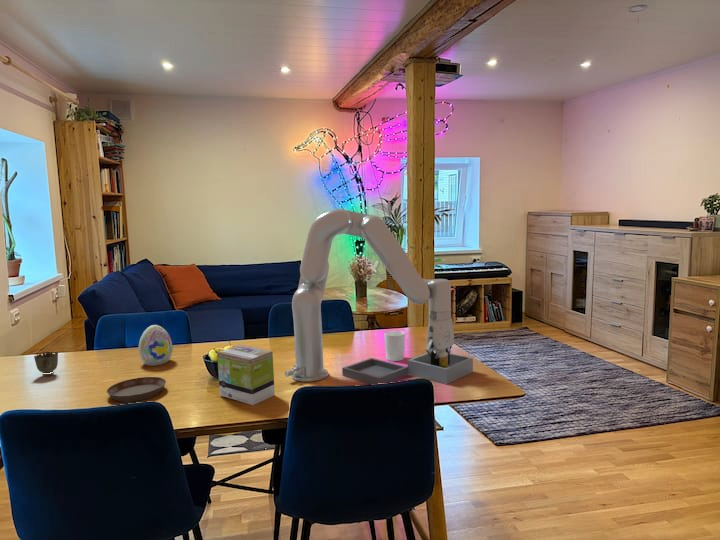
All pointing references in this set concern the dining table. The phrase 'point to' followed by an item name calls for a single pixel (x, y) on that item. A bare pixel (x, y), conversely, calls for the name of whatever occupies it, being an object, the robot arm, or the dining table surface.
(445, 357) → the supplement bottle
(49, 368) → the cup
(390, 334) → the white cup
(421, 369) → the gray square frame
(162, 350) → the decorative egg
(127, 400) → the plant saucer
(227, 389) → the tea box
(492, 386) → the dining table surface
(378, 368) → the tray
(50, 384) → the dining table surface
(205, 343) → the dining table surface
